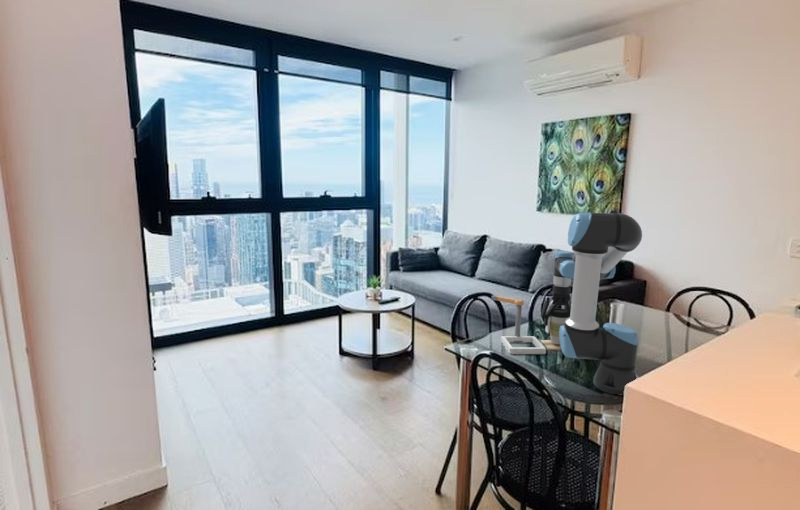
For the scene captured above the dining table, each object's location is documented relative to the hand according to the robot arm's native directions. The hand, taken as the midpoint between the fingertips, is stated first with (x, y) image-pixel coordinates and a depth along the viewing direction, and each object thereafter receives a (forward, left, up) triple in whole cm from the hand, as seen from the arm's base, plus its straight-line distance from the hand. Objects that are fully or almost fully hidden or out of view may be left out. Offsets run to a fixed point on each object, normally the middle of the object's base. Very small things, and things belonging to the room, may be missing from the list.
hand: (558, 332), depth 208 cm
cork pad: (0, 0, -7) cm, 7 cm away
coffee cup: (0, 0, -5) cm, 5 cm away
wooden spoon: (+10, +21, +12) cm, 26 cm away
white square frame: (-1, +17, -7) cm, 18 cm away
